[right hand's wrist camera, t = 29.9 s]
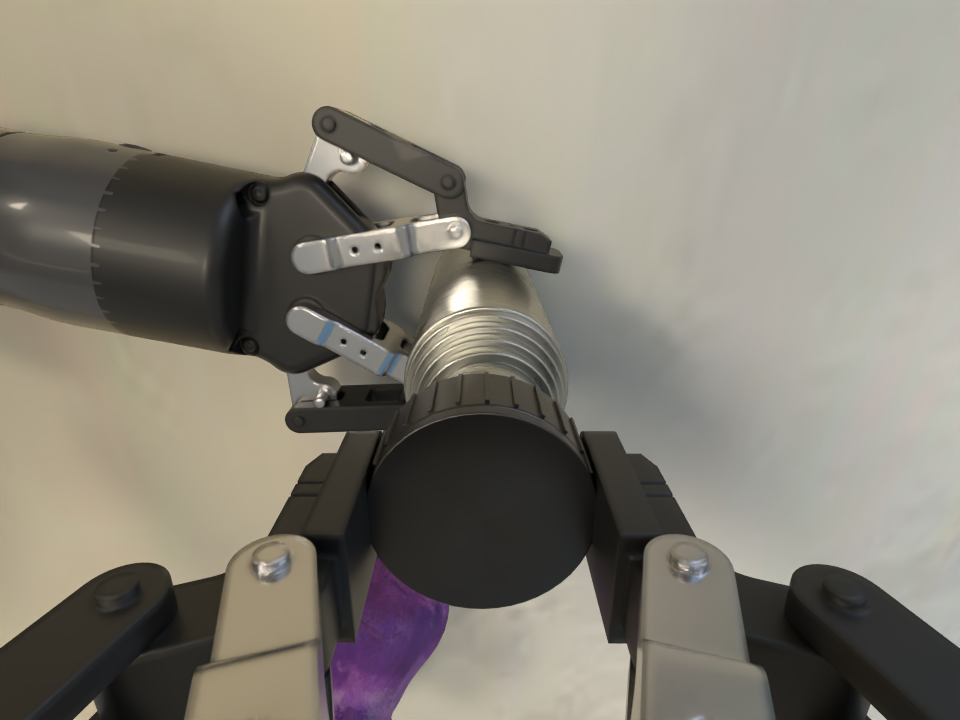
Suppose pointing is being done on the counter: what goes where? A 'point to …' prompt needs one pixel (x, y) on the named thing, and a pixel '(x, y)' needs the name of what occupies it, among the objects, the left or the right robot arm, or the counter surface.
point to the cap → (481, 493)
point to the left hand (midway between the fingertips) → (541, 323)
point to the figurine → (385, 648)
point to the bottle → (484, 328)
